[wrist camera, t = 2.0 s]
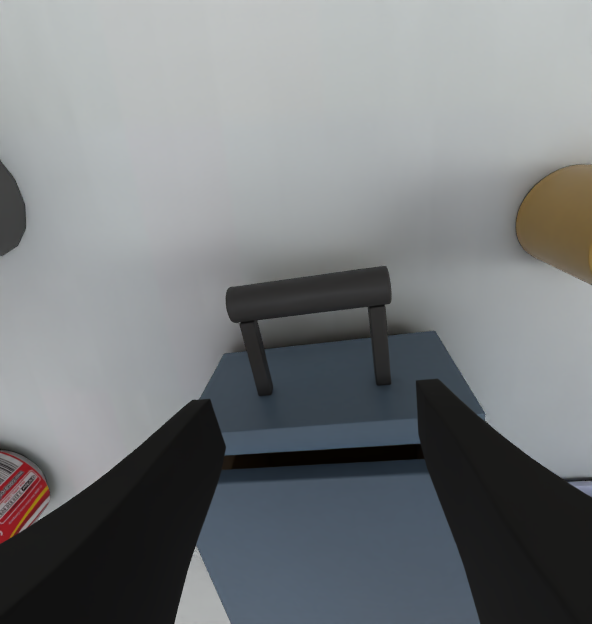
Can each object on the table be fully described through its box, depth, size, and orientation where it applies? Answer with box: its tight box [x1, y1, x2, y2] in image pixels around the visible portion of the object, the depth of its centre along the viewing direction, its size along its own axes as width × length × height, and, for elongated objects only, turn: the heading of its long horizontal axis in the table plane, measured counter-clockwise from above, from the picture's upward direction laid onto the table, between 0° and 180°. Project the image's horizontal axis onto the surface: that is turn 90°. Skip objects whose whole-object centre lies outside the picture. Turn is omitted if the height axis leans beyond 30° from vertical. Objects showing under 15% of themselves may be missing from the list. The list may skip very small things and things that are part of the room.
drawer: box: [199, 266, 485, 470], centre depth 17 cm, size 17×11×6 cm, turn 10°
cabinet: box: [196, 459, 480, 624], centre depth 19 cm, size 13×12×8 cm
